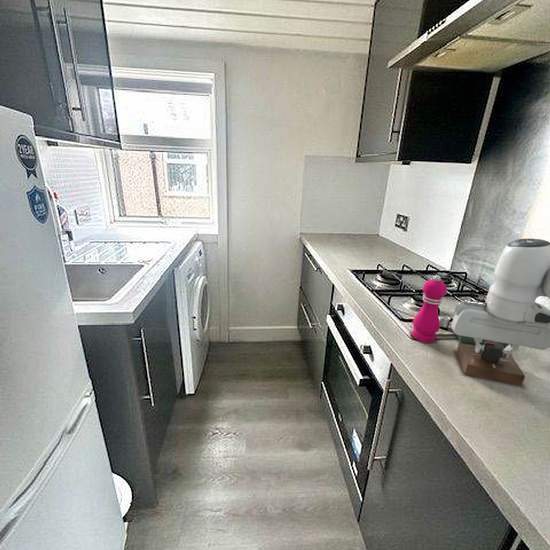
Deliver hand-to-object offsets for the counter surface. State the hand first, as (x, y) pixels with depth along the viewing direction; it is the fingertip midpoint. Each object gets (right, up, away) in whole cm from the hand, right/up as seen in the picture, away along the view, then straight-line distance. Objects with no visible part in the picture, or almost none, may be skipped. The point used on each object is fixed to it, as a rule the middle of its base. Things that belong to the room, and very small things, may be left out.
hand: (490, 354), depth 77 cm
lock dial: (0, -1, 0) cm, 1 cm away
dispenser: (+7, +1, +15) cm, 17 cm away
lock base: (0, -4, +1) cm, 4 cm away
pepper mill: (-10, +1, +14) cm, 18 cm away
